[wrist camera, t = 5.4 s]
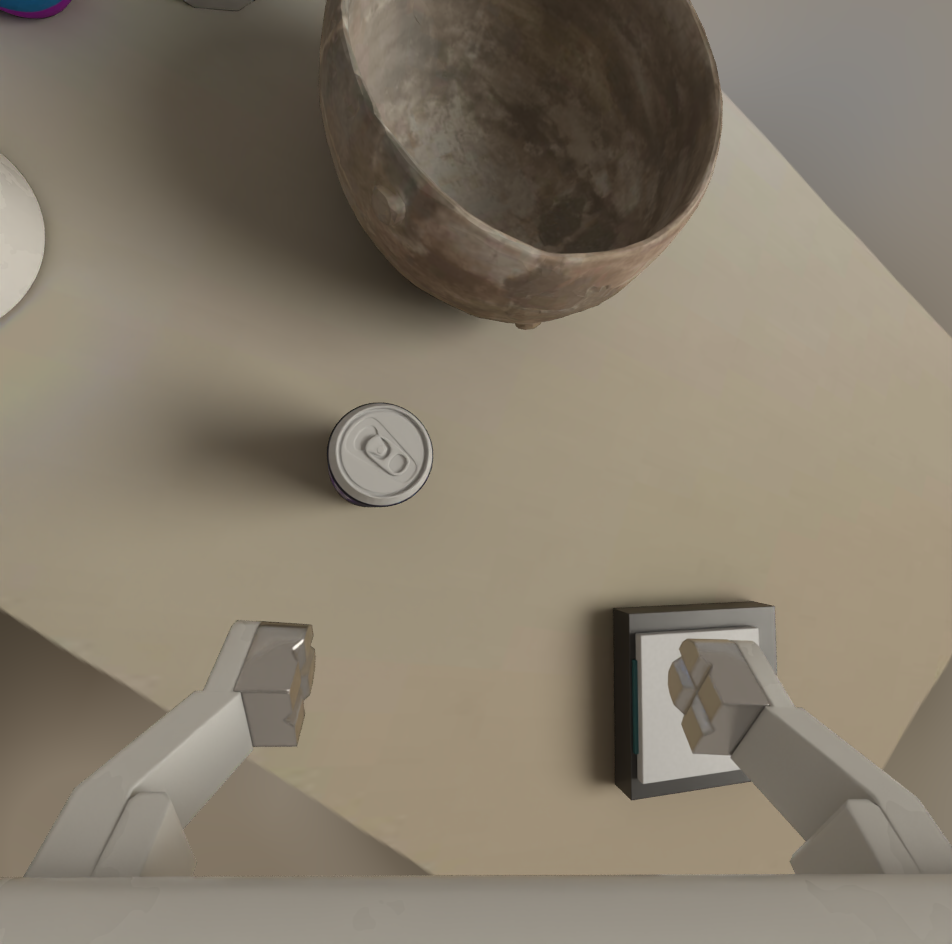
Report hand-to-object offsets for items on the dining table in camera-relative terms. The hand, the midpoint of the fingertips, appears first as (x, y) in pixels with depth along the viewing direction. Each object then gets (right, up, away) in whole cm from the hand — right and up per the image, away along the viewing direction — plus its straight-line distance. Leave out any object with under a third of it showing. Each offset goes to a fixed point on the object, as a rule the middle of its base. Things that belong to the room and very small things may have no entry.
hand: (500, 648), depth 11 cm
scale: (+17, -14, +33) cm, 40 cm away
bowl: (-1, +25, +31) cm, 40 cm away
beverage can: (-9, +4, +27) cm, 29 cm away
